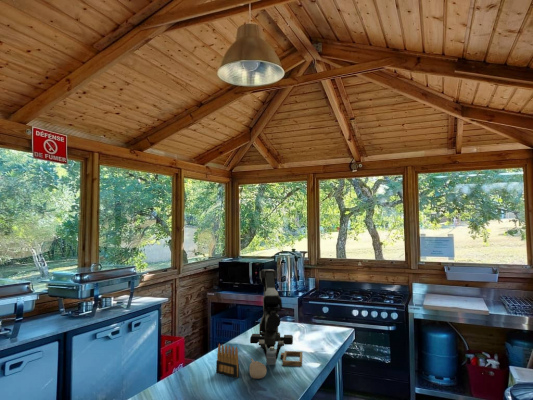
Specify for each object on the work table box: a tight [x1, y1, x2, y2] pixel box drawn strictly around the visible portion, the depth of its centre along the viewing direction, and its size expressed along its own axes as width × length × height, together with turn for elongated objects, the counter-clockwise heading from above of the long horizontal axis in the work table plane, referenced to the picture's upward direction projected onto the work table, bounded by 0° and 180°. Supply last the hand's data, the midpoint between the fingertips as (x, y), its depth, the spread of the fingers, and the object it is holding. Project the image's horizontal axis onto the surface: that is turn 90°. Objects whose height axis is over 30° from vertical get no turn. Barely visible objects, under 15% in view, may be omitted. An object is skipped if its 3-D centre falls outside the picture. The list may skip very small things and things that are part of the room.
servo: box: [265, 346, 278, 366], centre depth 164 cm, size 4×9×6 cm, turn 173°
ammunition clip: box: [215, 342, 240, 379], centre depth 153 cm, size 11×2×12 cm, turn 59°
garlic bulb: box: [249, 357, 267, 380], centre depth 150 cm, size 7×6×8 cm
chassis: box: [280, 350, 304, 367], centre depth 171 cm, size 10×14×2 cm
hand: (271, 359), depth 164 cm, fingers closed on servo, 4 cm apart
